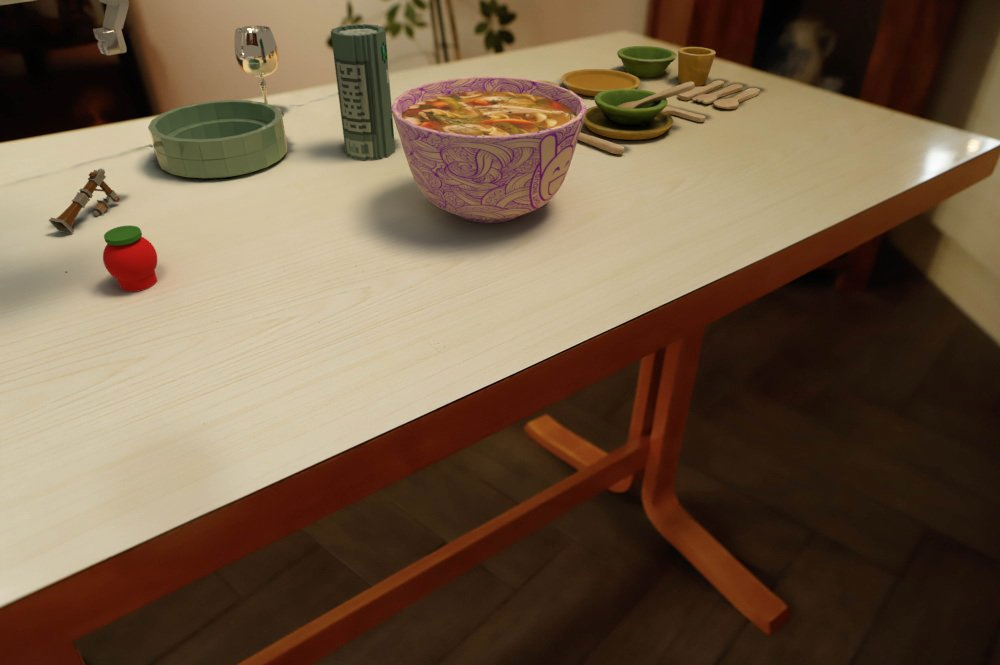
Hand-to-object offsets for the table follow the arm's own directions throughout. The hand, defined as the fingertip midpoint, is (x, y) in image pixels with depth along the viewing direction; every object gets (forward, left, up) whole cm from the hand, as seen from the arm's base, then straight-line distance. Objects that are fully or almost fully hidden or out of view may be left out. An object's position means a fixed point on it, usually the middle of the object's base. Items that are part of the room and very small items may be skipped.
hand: (51, 65), depth 54 cm
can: (-11, +37, -20) cm, 44 cm away
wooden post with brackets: (-18, +4, -20) cm, 27 cm away
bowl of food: (+12, +35, -20) cm, 42 cm away
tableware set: (+2, +77, -20) cm, 80 cm away
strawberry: (-1, +1, -20) cm, 20 cm away
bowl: (-23, +23, -20) cm, 38 cm away
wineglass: (-33, +36, -20) cm, 53 cm away
